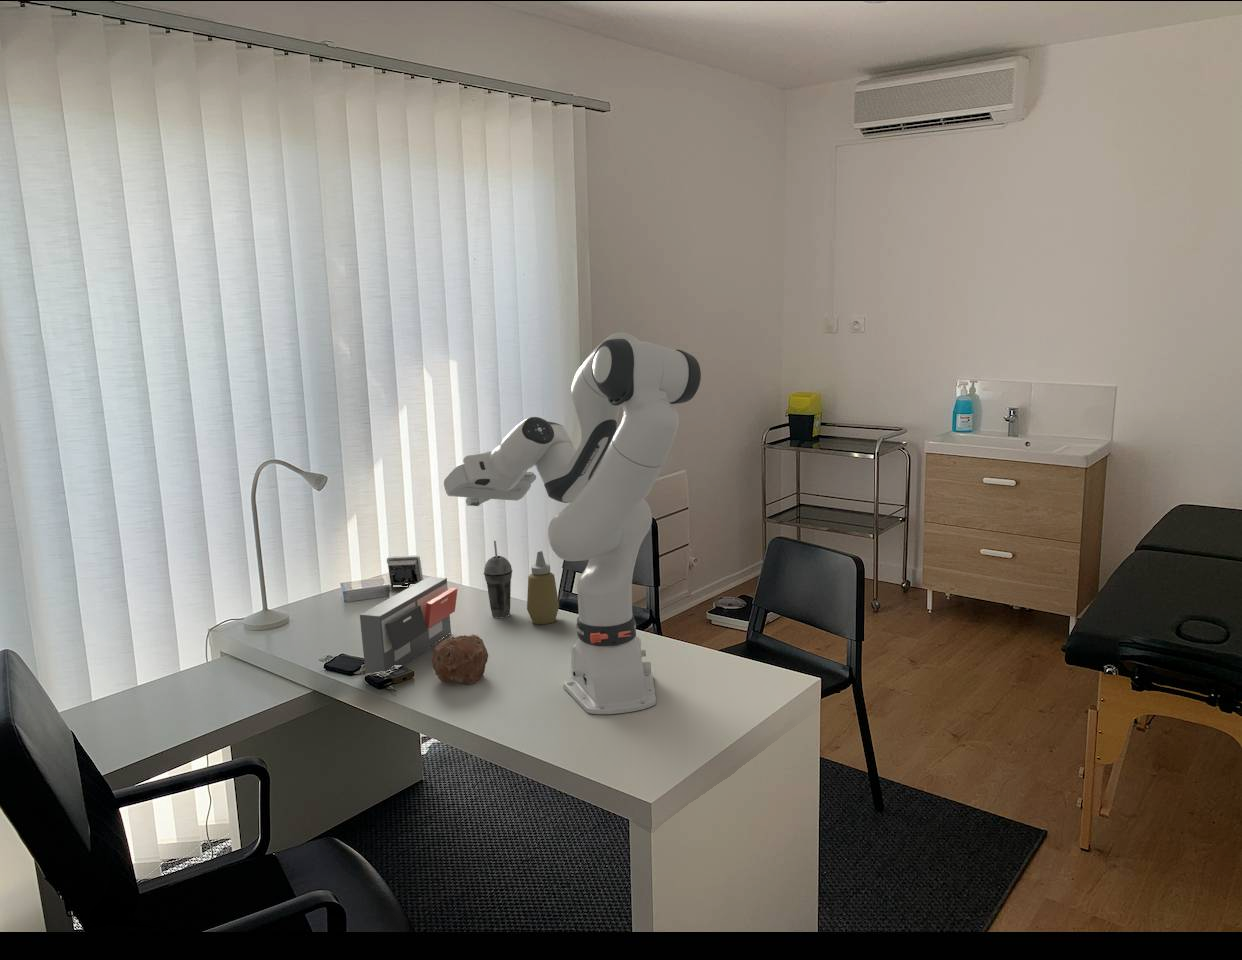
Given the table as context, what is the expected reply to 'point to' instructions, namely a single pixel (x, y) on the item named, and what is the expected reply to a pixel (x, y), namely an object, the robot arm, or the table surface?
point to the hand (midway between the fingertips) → (471, 503)
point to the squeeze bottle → (542, 593)
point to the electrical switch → (404, 570)
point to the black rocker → (406, 627)
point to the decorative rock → (460, 659)
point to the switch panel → (375, 619)
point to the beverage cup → (498, 584)
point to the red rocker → (440, 607)
